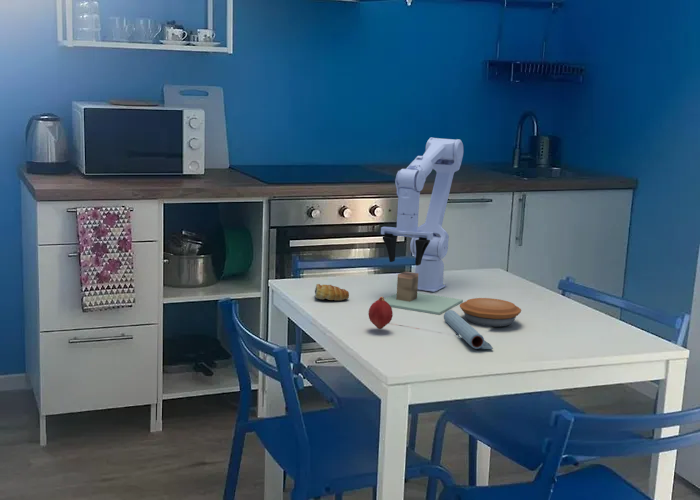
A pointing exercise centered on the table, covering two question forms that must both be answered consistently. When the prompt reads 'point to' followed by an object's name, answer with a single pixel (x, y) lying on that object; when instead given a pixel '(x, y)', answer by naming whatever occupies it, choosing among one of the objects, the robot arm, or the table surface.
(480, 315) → the pie
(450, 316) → the aluminum foil
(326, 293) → the pastry
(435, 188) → the robot arm
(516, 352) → the table surface
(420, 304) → the sage mat
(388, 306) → the onion
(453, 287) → the table surface
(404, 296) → the walnut block
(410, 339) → the table surface
